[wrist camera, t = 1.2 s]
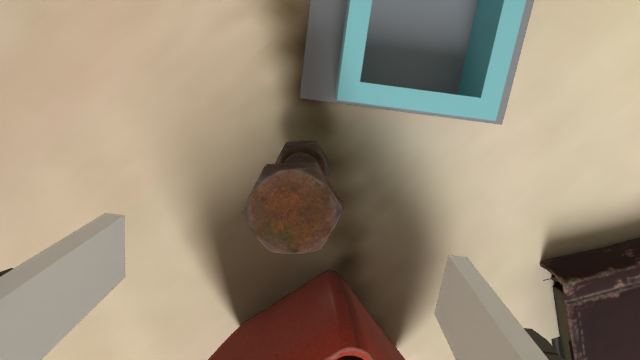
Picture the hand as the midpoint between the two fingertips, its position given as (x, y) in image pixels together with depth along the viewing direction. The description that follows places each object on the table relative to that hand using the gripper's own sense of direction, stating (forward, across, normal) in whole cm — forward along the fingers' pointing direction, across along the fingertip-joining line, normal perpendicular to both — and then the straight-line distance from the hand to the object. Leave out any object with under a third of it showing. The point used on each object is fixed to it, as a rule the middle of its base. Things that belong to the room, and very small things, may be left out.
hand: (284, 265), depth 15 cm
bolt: (+21, 0, 0) cm, 21 cm away
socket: (+21, +8, +12) cm, 25 cm away
